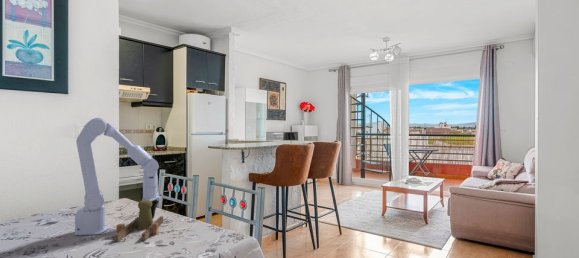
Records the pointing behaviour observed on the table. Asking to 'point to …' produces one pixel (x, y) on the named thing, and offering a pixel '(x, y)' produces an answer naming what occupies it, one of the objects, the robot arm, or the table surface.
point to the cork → (144, 215)
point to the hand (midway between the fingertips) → (150, 218)
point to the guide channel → (124, 231)
